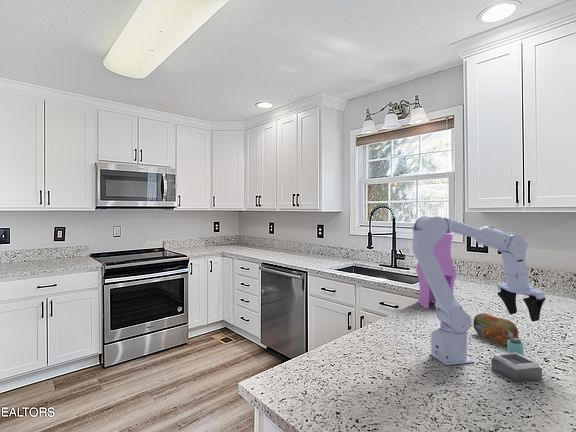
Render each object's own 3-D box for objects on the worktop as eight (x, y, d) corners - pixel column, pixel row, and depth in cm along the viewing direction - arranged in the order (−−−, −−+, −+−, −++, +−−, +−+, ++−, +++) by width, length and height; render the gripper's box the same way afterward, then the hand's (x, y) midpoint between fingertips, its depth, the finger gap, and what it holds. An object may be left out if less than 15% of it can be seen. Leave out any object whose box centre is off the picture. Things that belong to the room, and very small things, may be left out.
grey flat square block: (516, 382, 84) (516, 366, 84) (491, 368, 92) (491, 353, 92) (542, 379, 86) (541, 364, 86) (515, 366, 94) (515, 351, 94)
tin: (472, 333, 120) (472, 310, 120) (479, 332, 121) (478, 309, 121) (513, 349, 106) (513, 323, 106) (520, 347, 107) (520, 322, 107)
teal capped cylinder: (515, 362, 96) (515, 342, 96) (504, 356, 100) (504, 337, 100) (527, 361, 97) (526, 341, 97) (515, 355, 101) (515, 336, 101)
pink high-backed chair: (444, 301, 164) (444, 232, 163) (456, 309, 150) (455, 233, 150) (416, 301, 165) (416, 232, 165) (425, 308, 151) (424, 233, 151)
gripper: (550, 273, 93) (558, 320, 93) (507, 267, 107) (514, 308, 107) (529, 279, 91) (537, 326, 92) (488, 271, 106) (496, 312, 106)
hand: (523, 316), depth 99 cm, fingers open, 7 cm apart
